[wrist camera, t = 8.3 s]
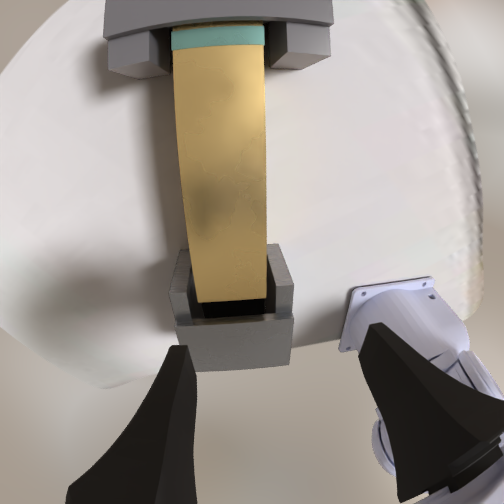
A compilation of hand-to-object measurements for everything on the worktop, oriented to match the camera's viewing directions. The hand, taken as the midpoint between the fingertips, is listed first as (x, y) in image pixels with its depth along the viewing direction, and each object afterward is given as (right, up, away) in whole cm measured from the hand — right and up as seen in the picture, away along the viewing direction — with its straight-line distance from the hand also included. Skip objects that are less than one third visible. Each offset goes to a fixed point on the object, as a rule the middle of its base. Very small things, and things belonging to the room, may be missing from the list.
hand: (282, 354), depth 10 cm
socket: (-3, +17, +3) cm, 17 cm away
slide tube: (-3, +10, +6) cm, 12 cm away
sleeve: (-3, +1, +11) cm, 11 cm away
